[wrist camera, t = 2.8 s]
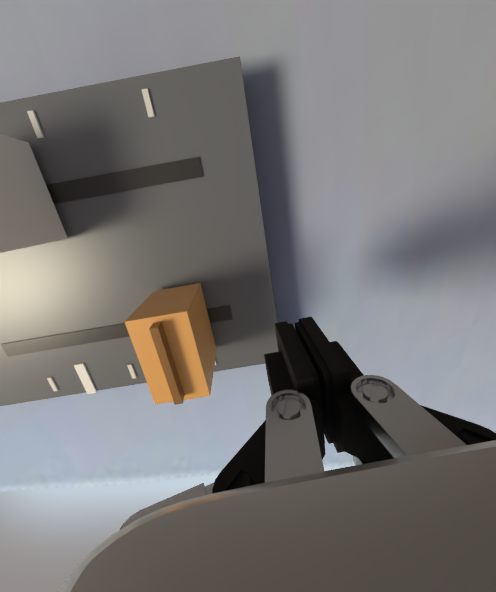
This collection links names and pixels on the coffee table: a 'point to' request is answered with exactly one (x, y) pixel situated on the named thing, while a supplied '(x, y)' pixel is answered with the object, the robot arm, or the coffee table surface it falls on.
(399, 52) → the coffee table surface
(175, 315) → the fader orange
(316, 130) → the coffee table surface
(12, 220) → the fader white
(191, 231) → the console
